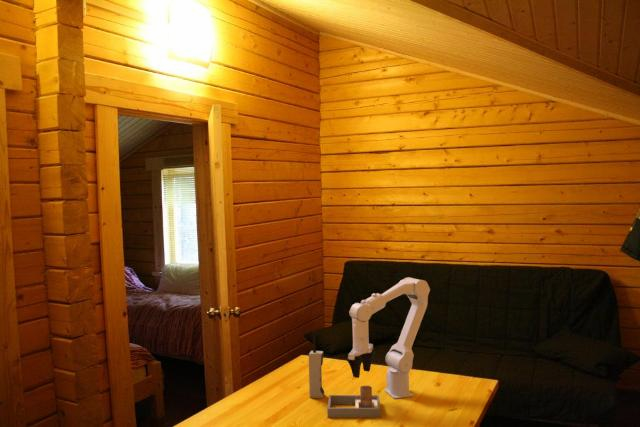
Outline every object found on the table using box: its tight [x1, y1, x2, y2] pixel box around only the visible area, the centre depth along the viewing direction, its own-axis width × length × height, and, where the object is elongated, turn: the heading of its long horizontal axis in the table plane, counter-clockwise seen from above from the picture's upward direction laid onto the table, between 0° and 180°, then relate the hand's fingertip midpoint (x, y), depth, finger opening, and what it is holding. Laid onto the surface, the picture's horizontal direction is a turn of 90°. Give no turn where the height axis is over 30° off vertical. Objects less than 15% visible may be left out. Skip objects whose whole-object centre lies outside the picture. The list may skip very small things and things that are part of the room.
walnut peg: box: [359, 385, 373, 408], centre depth 181 cm, size 4×4×8 cm
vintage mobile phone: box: [308, 330, 325, 399], centre depth 195 cm, size 4×5×25 cm
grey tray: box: [326, 394, 382, 419], centre depth 182 cm, size 18×12×3 cm, turn 86°
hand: (361, 374), depth 188 cm, fingers open, 7 cm apart
